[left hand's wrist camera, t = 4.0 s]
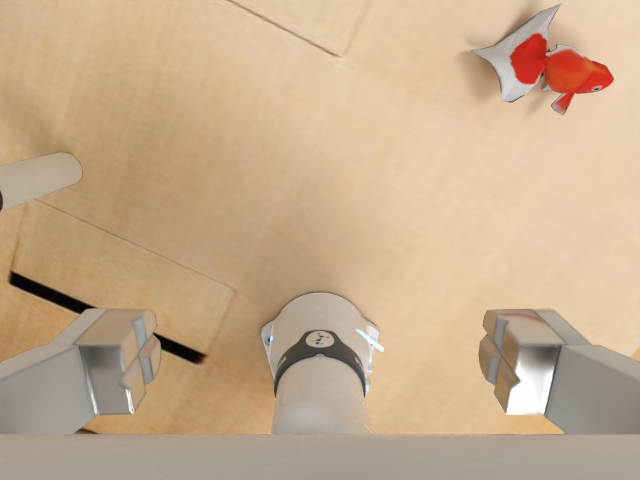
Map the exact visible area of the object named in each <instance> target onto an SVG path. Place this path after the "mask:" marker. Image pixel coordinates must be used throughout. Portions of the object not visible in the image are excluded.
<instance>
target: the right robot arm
mask: <svg viewBox="0 0 640 480" xmlns="http://www.w3.org/2000/svg"><path fill="white" fill-rule="evenodd" d="M73 434H94V433H92V432H88V431H84V430H77V431H76V432H75V433H73Z"/></svg>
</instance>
